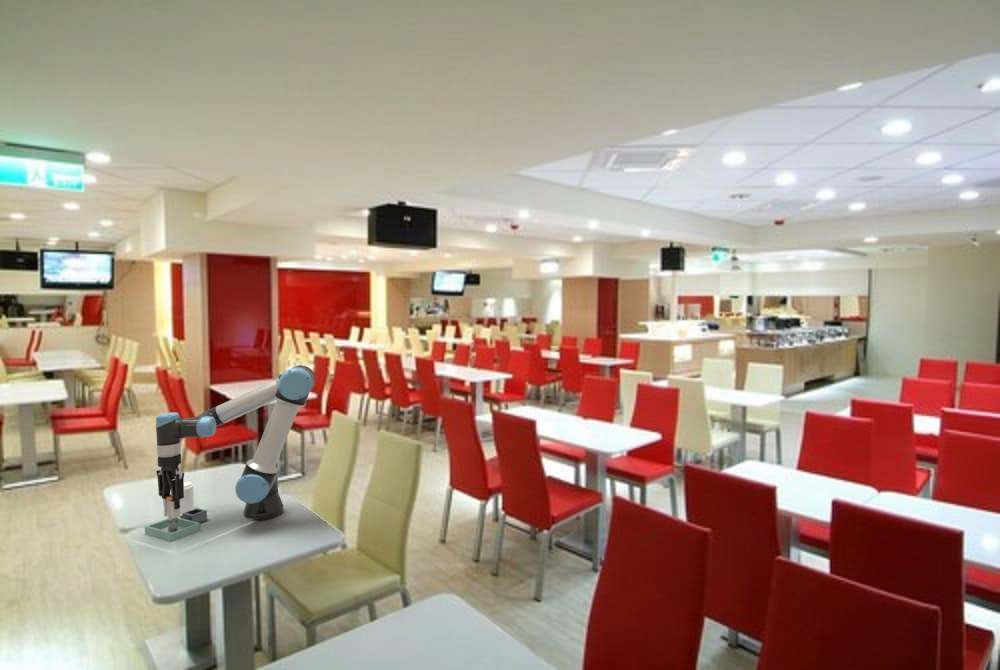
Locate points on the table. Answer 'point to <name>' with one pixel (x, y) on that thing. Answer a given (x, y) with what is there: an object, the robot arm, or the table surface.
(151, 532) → the tray
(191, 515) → the dark grey open box
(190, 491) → the white upright cylinder
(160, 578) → the table surface
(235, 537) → the table surface
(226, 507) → the table surface
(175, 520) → the grey orange cylinder
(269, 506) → the robot arm
